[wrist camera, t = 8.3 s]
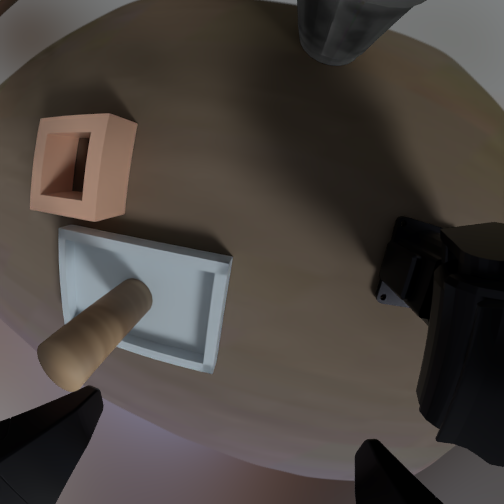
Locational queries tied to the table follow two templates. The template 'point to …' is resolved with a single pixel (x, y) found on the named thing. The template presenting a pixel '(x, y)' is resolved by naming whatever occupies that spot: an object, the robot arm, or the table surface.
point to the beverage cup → (346, 26)
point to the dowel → (93, 334)
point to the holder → (96, 172)
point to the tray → (160, 285)
